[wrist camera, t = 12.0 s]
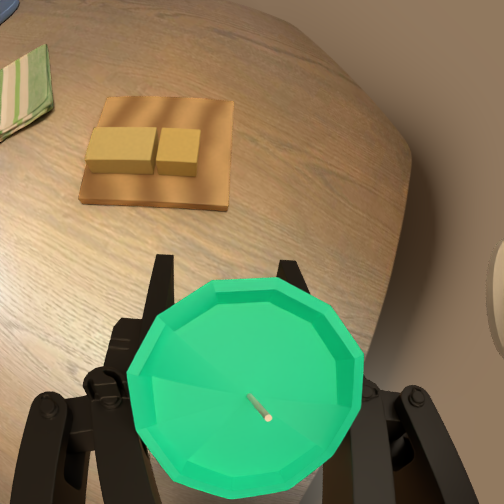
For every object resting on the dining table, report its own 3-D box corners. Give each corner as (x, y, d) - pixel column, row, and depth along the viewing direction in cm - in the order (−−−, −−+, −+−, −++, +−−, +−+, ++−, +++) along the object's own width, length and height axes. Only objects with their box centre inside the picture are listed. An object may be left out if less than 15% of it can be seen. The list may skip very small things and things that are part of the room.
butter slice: (199, 145, 32) (200, 129, 29) (196, 177, 31) (197, 162, 28) (163, 143, 31) (161, 127, 28) (158, 174, 30) (155, 160, 27)
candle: (251, 291, 18) (352, 227, 6) (283, 386, 17) (416, 459, 5) (151, 321, 16) (67, 311, 5) (186, 419, 15) (182, 556, 4)
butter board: (232, 108, 36) (234, 101, 34) (227, 211, 32) (228, 206, 31) (109, 104, 33) (107, 96, 31) (82, 204, 29) (77, 198, 28)
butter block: (158, 142, 31) (157, 127, 28) (153, 174, 30) (150, 160, 27) (99, 142, 30) (93, 127, 27) (91, 173, 29) (84, 159, 26)
